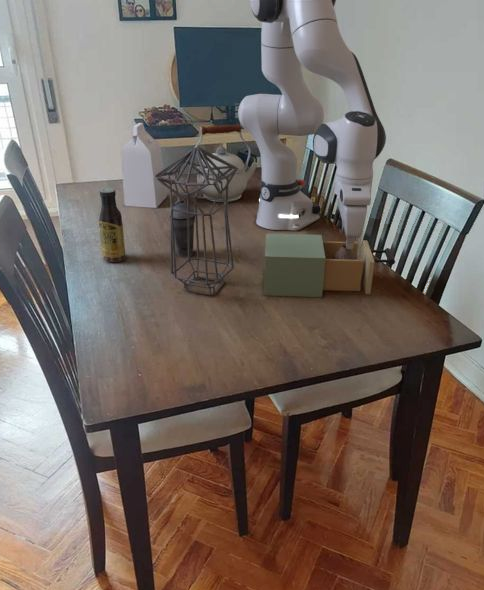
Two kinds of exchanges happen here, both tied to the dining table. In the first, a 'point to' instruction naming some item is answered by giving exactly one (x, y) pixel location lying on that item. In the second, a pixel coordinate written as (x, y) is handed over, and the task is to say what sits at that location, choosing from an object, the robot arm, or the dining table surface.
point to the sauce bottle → (111, 227)
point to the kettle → (239, 178)
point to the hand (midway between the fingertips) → (347, 240)
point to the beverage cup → (183, 228)
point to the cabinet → (294, 265)
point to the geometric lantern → (177, 166)
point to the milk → (142, 170)
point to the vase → (345, 254)
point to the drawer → (351, 267)
